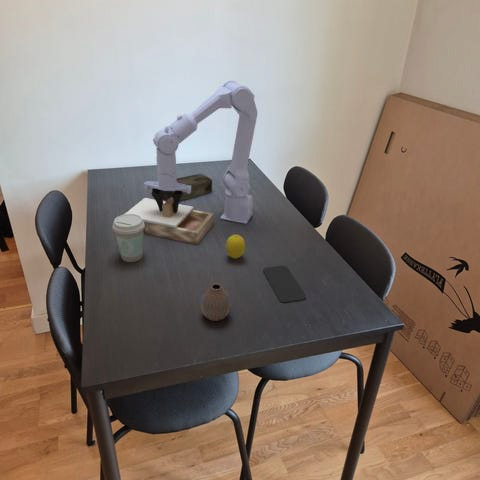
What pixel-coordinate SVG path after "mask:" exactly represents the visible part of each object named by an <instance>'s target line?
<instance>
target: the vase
mask: <svg viewBox="0 0 480 480" xmlns="http://www.w3.org/2000/svg"><path fill="white" fill-rule="evenodd" d="M200 301H201V302H200V308H201V309H200V310H201V312H202V314H203V316H204V317H205V318H206V319H208V320H210V321H212V322H218V321H222V320H223V319H225V318H226V317H227V316H228V314H229V313H230V311H231V298H230V295H229V292H228V291H227V290H225V289H224V288H223V286H222V285H221V283H212V284H211V285H210V287H209V288H207V290H205V291H204V293H203V294H202V297H201V300H200Z"/></svg>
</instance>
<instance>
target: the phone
mask: <svg viewBox="0 0 480 480" xmlns="http://www.w3.org/2000/svg"><path fill="white" fill-rule="evenodd" d="M262 271H263V274H264V276H265V278H266V280H267V281H268V283H269V285H270V286H271V288H272V291H273V292H274V293H275V296H276V298H277V299H278V300H279V302H280V303H282V304H288V303H294V302H301V301H306V299H307V296H306V294H305V292H304V291H303V289H302V287H301V286H300V285H299V283H298V282H297V280H296V278H295V277H294V275H293V274H292V273H291V271H290V269H289V268H288V266H286V265H277V266H271V267H270V266H269V267H264V268H263V269H262Z"/></svg>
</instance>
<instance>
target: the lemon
mask: <svg viewBox="0 0 480 480" xmlns="http://www.w3.org/2000/svg"><path fill="white" fill-rule="evenodd" d="M245 250H246V242H245V239H244V238H243V237H242V236H241V235H239V234H238V233H237V234H232V235H230V236H229V237H228V238H227V240H226V244H225V251H226V253H227V255H228V256H229V257H230V258H233V259H238V258H240V257H242V256H243V255H244V254H245Z"/></svg>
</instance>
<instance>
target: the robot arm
mask: <svg viewBox="0 0 480 480" xmlns="http://www.w3.org/2000/svg"><path fill="white" fill-rule="evenodd" d="M219 109H234V110H235V112H236V113H237V114H238V122H237V129H236V133H235V139H234V144H233V145H234V146H233V149H232V150H233V151H232V157H231V162H230V164H229V165H227V168H226V171H225V173H224V175H223V176H222V182H223V185H224V186H225V191H224V212H223V213H222V215H221V216H220V219H221V220H225V221H231V222H233V223H234V222H235V223H239V224H246V225H247V224H248V222H249V221H250V219H251V217H252V215H253V204H254V197H253V195H252V194H248V193H249V192H250V189H251V185H250V174H249V170H248V165H249V160H250V153H251V148H252V144H253V139H254V134H255V127H256V125H257V124H256V122H257V118H258V108H257V105H256V101H255V94H254V92H252V90H251V89H249V87H247V86H245V85H241V84H240V83H238V82H237V81H234V80H228V81H226V82H225V83H223V85H221V86H219V87H217V89H216V90H215V91H214V93H212V94H211V95H210V96H209V97H208V98H207V99H205V101H203V102H202V103H201V104H200V105H199V106H198V107H197V108H195V109H194V110H193V111H192V112H191V113H183V114H182V115H181V114H178V115H177V116H176V118H177V119H175V120H174V121H173V122H171V123H170V125H168V126H167V125H166V126H164V129H163V130H162V129H161V130H158V131H157V132H156V133H155V134H154V137H153V139H152V141H153V145H154V146H155V147H156V170H157V171H156V173H157V180H155V181H153V180H152V181H150V180H149V181H148V180H147V181H145V182H144V183H143V189H144V190H149V189H150V190H152V191H151V194H150V195H151V196H152V197H153V199H154V200H155V201H156V202H157V205H158V207H159V211H160V212H162V211H163V209H162V205H163V201H164V198H163V191H175V192H174V194H173V201H174V213H177V211H178V206H179V204H180V202H181V201H180V199H181V196H182V194H183V192H187V193H188V194H190V193H191V186H190V185H185V184H181V183H177V178H178V177H177V175H178V174H177V156H176V152H177V151H178V148H179V146H180V144H181V143H183V141H185V140H186V139H187V138H189V136H191V135H192V134H193V133H195V132H196V131H197V130H198V129H197V128H198V124H200V122H203V121H204V120H205V119H207V118H208V117H209V116H211V115H212V114H214V113H215V112H217V111H218V110H219Z"/></svg>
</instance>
